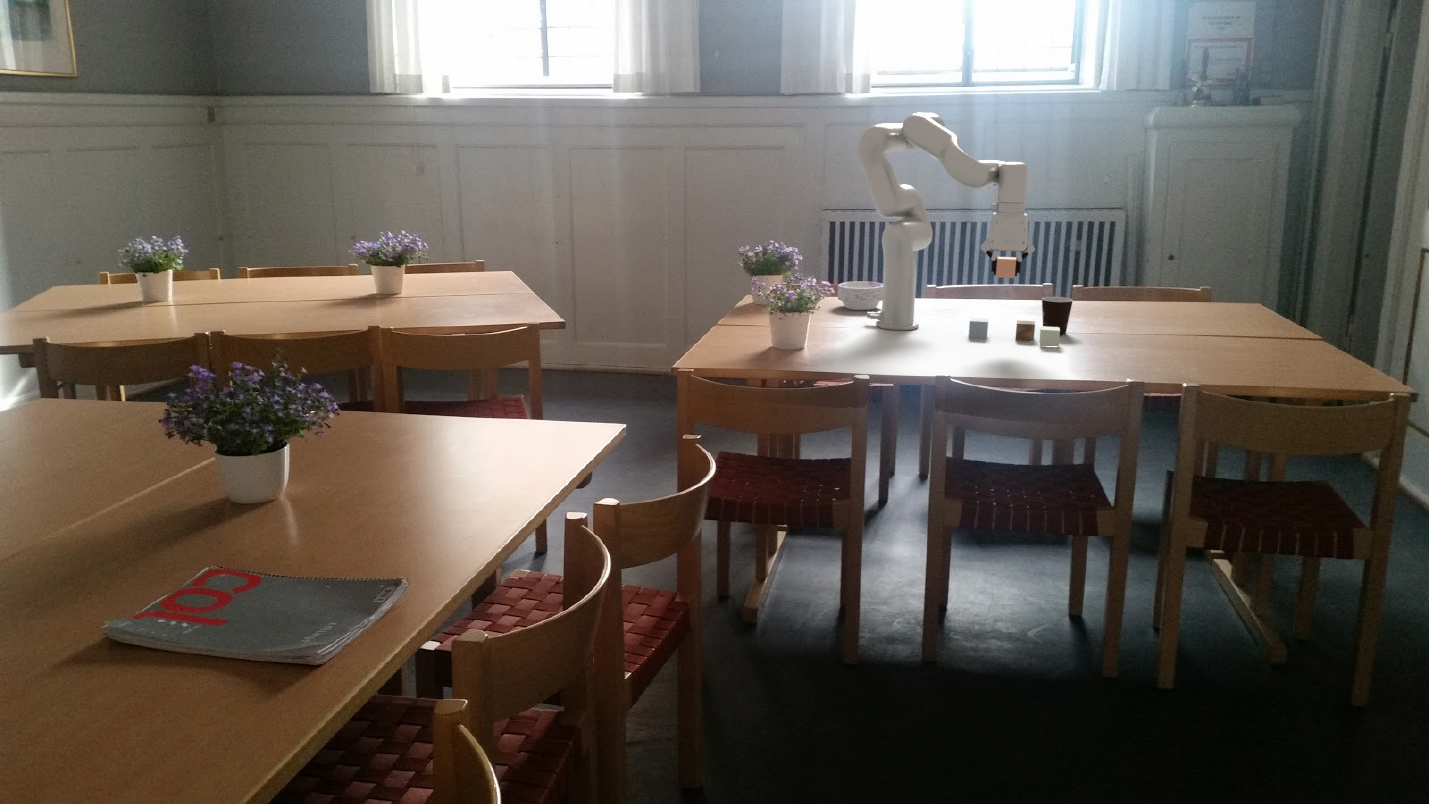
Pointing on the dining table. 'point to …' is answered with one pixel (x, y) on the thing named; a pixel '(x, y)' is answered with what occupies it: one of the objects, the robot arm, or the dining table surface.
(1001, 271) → the terracotta cube
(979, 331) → the slate cube
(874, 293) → the white floral bowl
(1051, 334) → the sage cube
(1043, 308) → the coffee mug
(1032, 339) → the walnut cube
